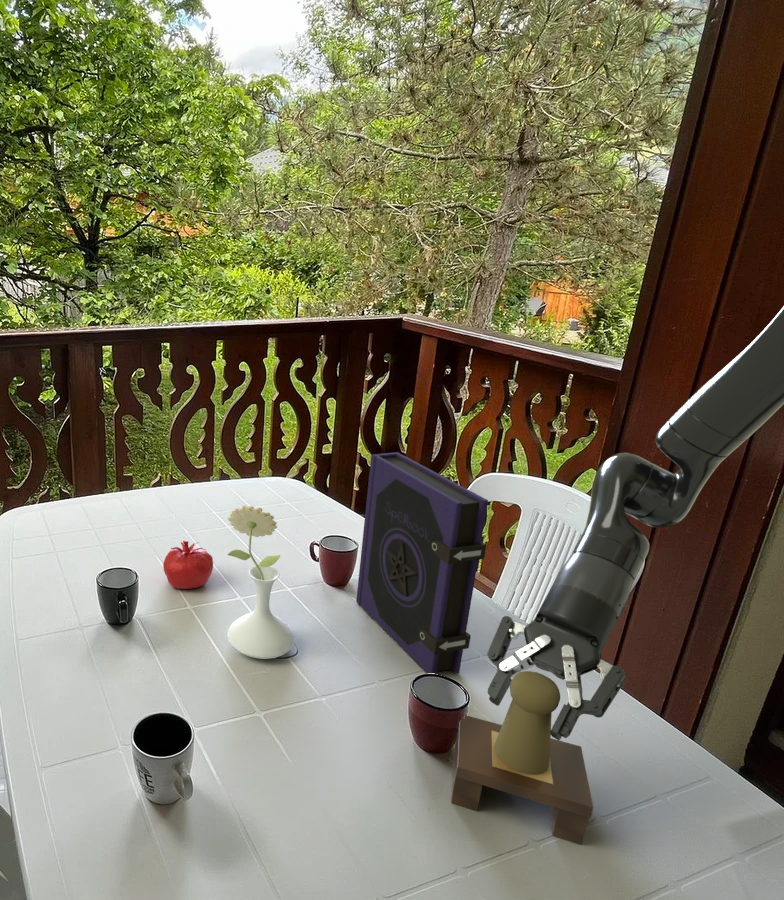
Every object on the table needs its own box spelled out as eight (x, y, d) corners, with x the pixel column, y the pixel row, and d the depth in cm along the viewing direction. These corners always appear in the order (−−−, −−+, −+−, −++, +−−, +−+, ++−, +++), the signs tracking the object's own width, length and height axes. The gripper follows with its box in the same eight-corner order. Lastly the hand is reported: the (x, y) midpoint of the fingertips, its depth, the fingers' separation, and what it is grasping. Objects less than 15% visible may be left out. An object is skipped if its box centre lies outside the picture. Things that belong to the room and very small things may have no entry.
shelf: (571, 784, 81) (581, 745, 79) (582, 848, 72) (593, 807, 70) (453, 749, 86) (460, 712, 85) (450, 806, 78) (457, 766, 76)
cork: (548, 782, 74) (567, 704, 70) (491, 761, 77) (506, 685, 73) (549, 748, 79) (567, 673, 75) (496, 730, 82) (510, 657, 78)
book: (354, 602, 122) (369, 454, 112) (383, 598, 123) (400, 451, 114) (430, 680, 100) (456, 505, 91) (464, 674, 102) (493, 501, 92)
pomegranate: (213, 595, 124) (214, 552, 121) (161, 594, 124) (161, 551, 121) (212, 570, 133) (213, 530, 130) (164, 569, 134) (164, 529, 131)
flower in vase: (305, 641, 110) (315, 507, 102) (273, 674, 101) (281, 532, 93) (241, 615, 117) (246, 489, 110) (206, 645, 109) (208, 510, 101)
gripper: (519, 563, 81) (456, 677, 78) (651, 613, 70) (584, 748, 67) (531, 587, 86) (473, 696, 82) (656, 637, 75) (594, 764, 72)
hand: (523, 719), depth 75 cm, fingers open, 6 cm apart
